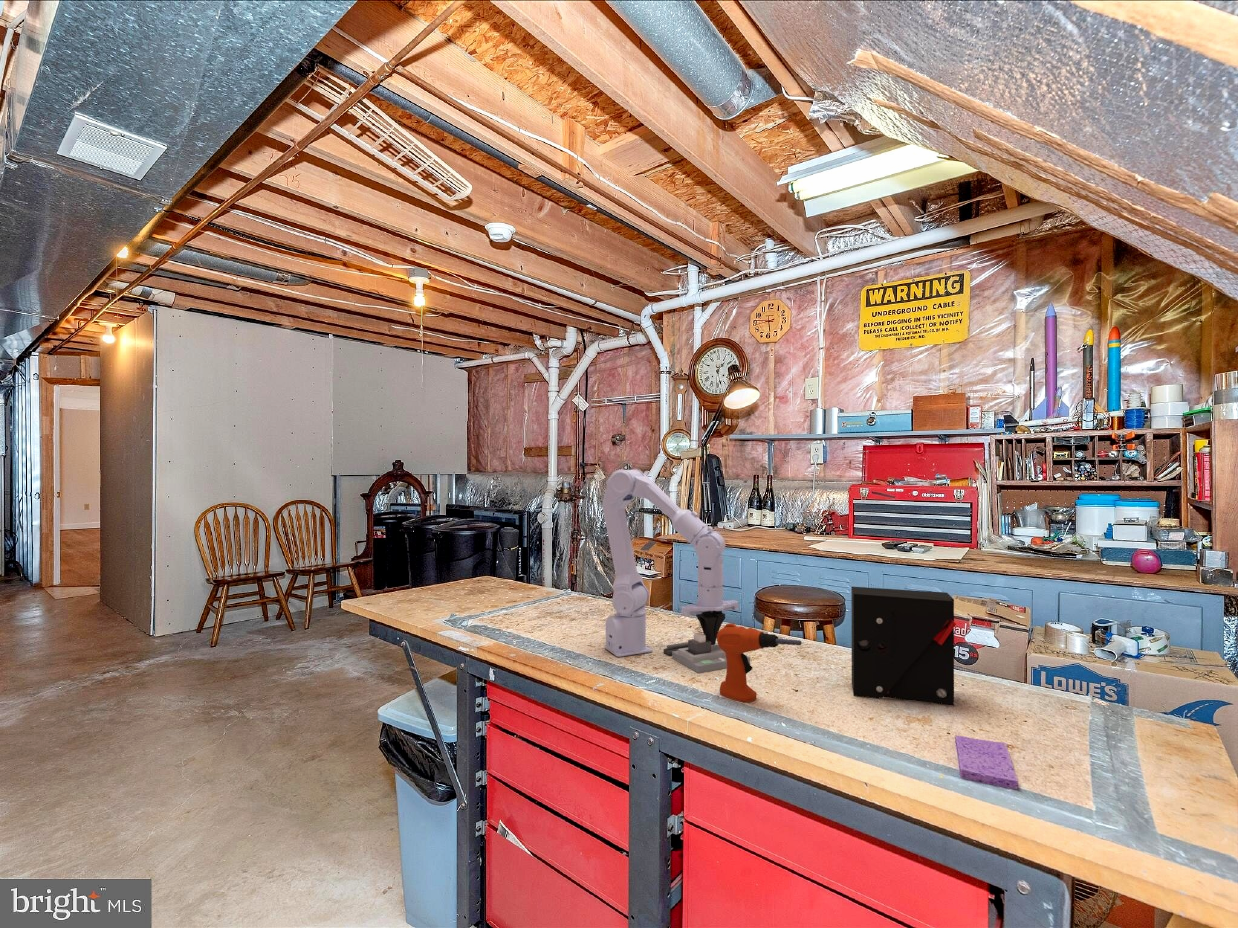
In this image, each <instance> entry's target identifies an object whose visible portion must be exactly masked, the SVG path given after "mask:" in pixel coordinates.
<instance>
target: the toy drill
mask: <svg viewBox="0 0 1238 928" xmlns="http://www.w3.org/2000/svg"><path fill="white" fill-rule="evenodd" d="M716 643H718V645H719V647H720V648H721V649H722V650H723V651H724V652H725V654H726V661H727V668H726V673H725V679H724V680H723V681H721V682H720V685H719V695H721V696H723V697H725V698H727V699H730V700H734V701H738V702H743V703H751V702H754V701H755V700H756V699H757V694H758V693H757V692H756V691H755V690H754V689H753V688H751V686H749V685H748V681H747V674H748V673H750V672H751V671H752V670H753V666H752V665H751V663H750V664H749V662H748V659H747V656H748V655H747V656H746V654H745V653H749V652H754V651H757V650H763V649H764V648H766V649H768V648H776V647H778V646H779V645H782V646H784V645H790V646H801V645H802V643H803V642H802V641H801V640H800V639H798V640H797V639H789V638H781V637H780V638H779V637H778V636H777V635H776V634H773V633H767V632H763V631H760V630H758V629H756V628H753V627H749V628H746V627H745V626H741V625H740V626H737V625H736V624H735V623H733V622H732V623H731V622H730V623H727V624H726V625H724V626H723V627H722V628H720V629H719V632H718V634H717V639H716Z"/></svg>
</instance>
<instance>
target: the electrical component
mask: <svg viewBox="0 0 1238 928" xmlns="http://www.w3.org/2000/svg"><path fill="white" fill-rule="evenodd" d="M850 597H851V598H850V599H851V602H850V603H851V687H852V688H851V689H852V694H853V695H852V696H853V697H859V698H870V699H879V700H880V699H883V698H886V699H893V700H895V699H896V700H902V701H910V702H917V703H918V702H919V703H925V704H926V703H927V704H934V705H935V704H936V705H943V706H951V707H952V706H954V707H955V626H956V625H957V623H956V622H955V599H954V598H953V596H951V595H950V593H948V592H944V591H943V592H942V591H941V592H940V591H929V590H928V591H927V590H911V589H899V588H898V589H896V588H880V587H864V586H851V596H850Z"/></svg>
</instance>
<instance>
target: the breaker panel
mask: <svg viewBox="0 0 1238 928" xmlns="http://www.w3.org/2000/svg"><path fill="white" fill-rule="evenodd" d="M745 655H746V654H745ZM746 656H747V659H748V662H749V664H750V665H751V657H750V656H749V655H746ZM671 658H672V659H673V660H675V661H676V662H678V663H680V664H682V665H683V666H685V667H686V668H688V669H690V670H692V671H694V672H695V673H697V674H702V673H708V672H712V671H718V670H724V669H727V661H726V654H725V652H724V651H723V650H722V649H721V648H720V647H719V645H718V642H716V643H715V645H711V652H710V653H704V654H698V655H693V654H691V653H689V652H688V648H682V649H678V651H672V655H671Z"/></svg>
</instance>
